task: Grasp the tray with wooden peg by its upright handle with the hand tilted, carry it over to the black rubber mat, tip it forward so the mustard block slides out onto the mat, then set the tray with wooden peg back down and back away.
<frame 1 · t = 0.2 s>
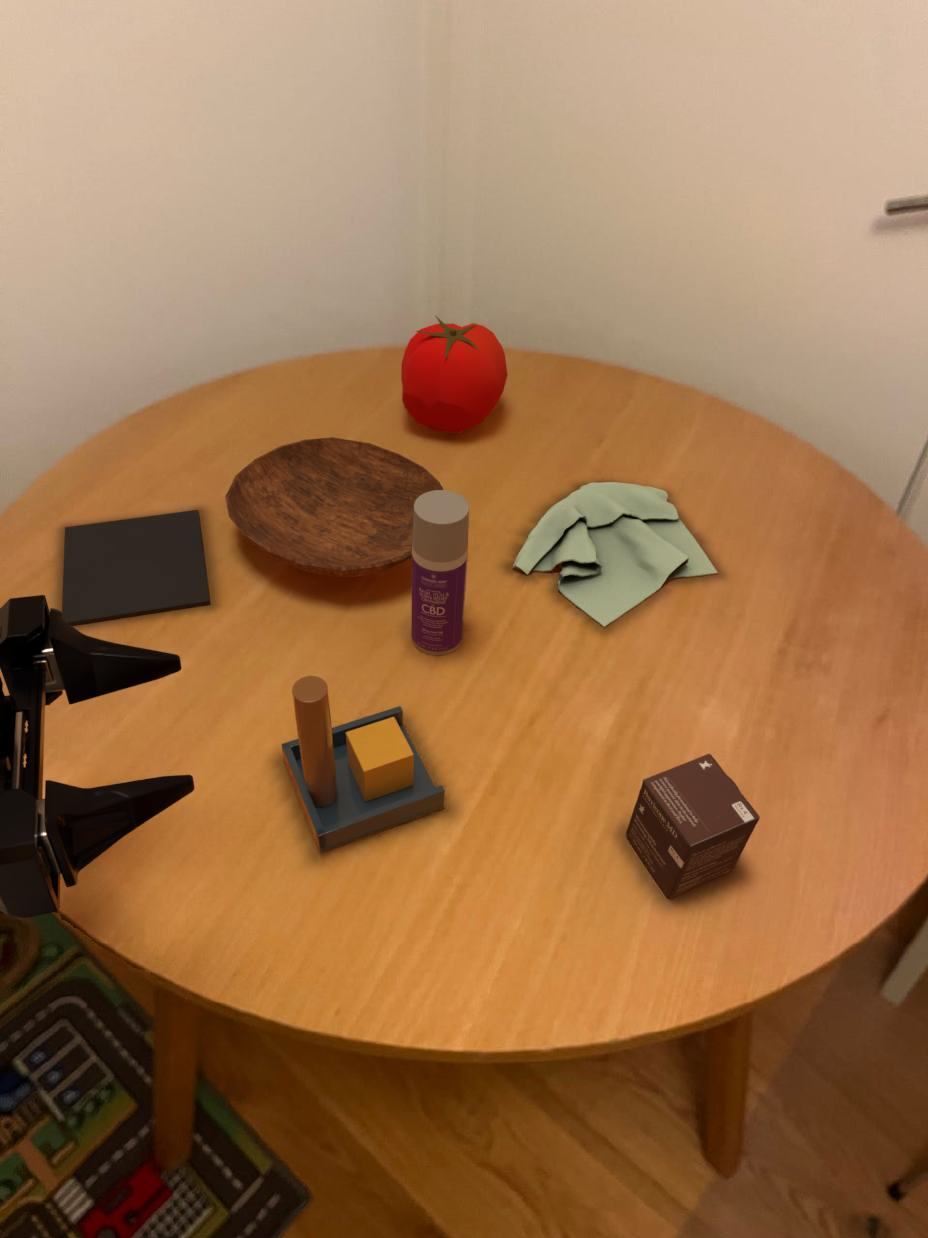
hand: (186, 719, 53), 18 cm above the table, tool horizontal, fingers open, 9 cm apart
bowl: (340, 538, 93), on the table
cloth: (606, 551, 94), on the table
block: (380, 774, 72), point 1 cm above the table, touching tray with wooden peg
box: (678, 853, 69), on the table
mat: (135, 566, 89), on the table
tray with wooden peg: (362, 785, 72), on the table, touching block
container: (436, 638, 84), on the table
tomato: (452, 419, 110), on the table
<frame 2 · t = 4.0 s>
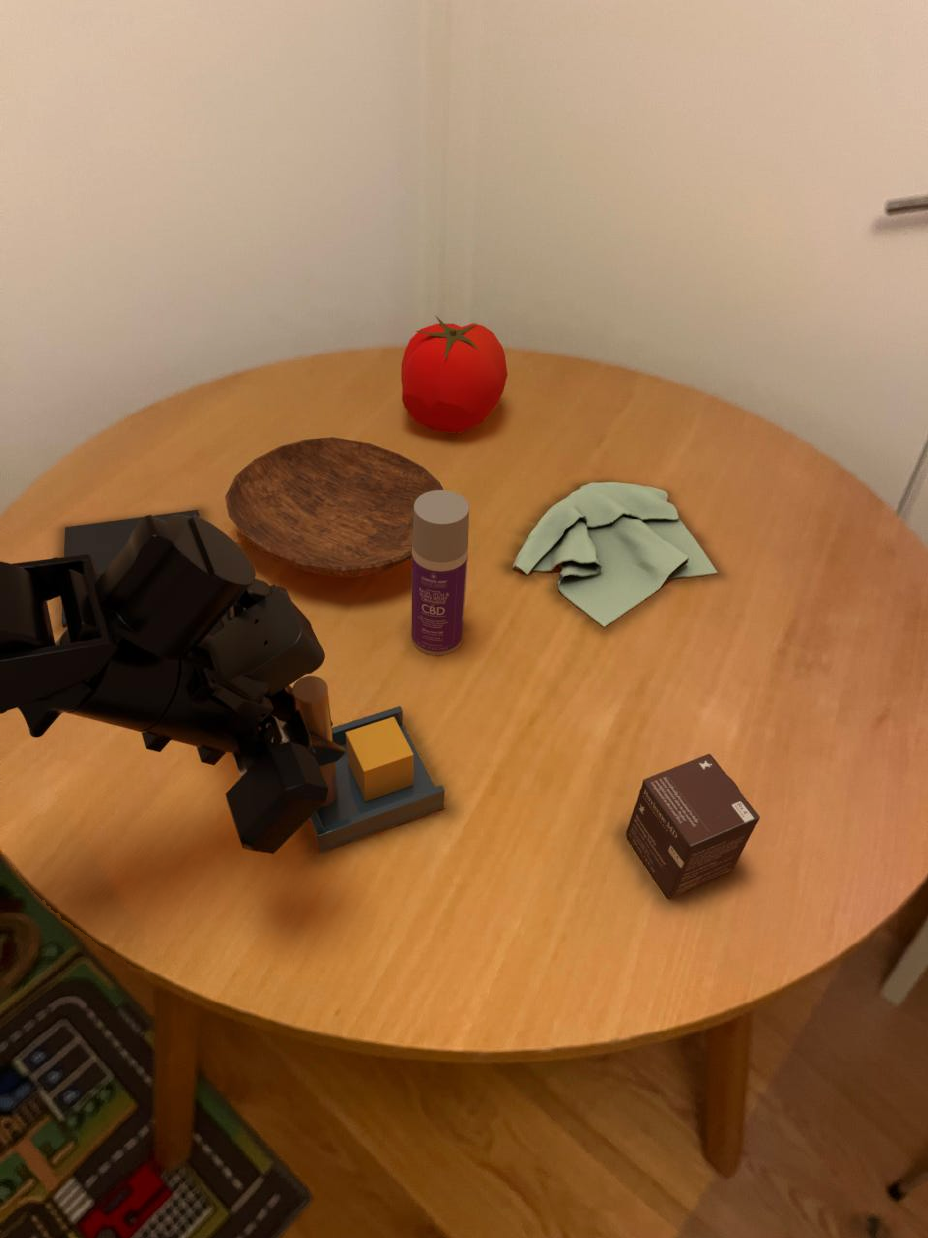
hand: (335, 741, 67), 7 cm above the table, tool tilted 45°, fingers closed on tray with wooden peg, 2 cm apart
tray with wooden peg: (362, 785, 72), on the table, touching block, gripper
everything else where it was.
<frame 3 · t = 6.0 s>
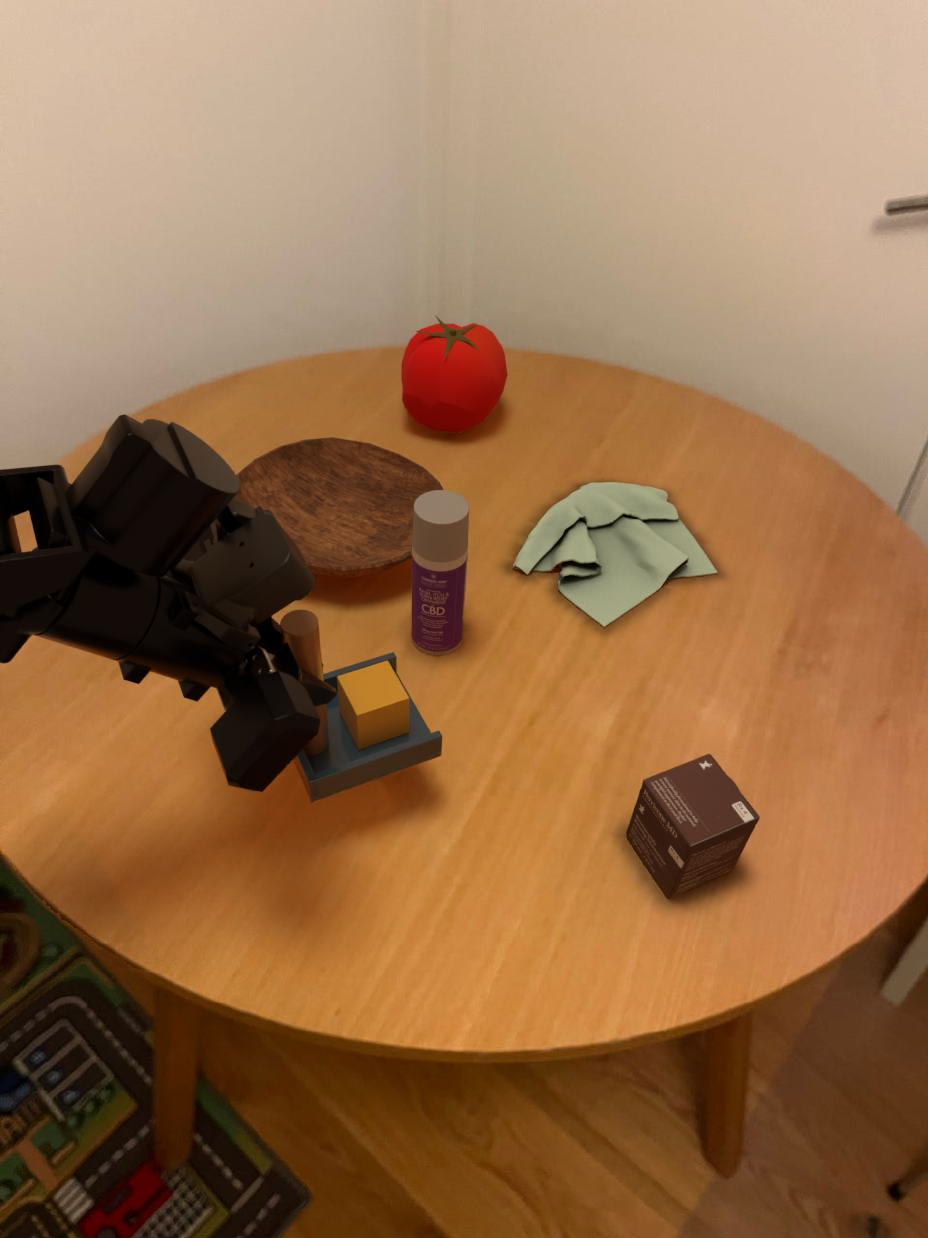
hand: (326, 682, 63), 12 cm above the table, tool tilted 45°, fingers closed on tray with wooden peg, 2 cm apart
block: (373, 722, 68), point 6 cm above the table, touching tray with wooden peg
tray with wooden peg: (355, 733, 68), point 6 cm above the table, touching block, gripper
everything else where it was.
when the fingers open (7 cm above the table, at t = 19.9 s): tray with wooden peg stays where it is, on the table.
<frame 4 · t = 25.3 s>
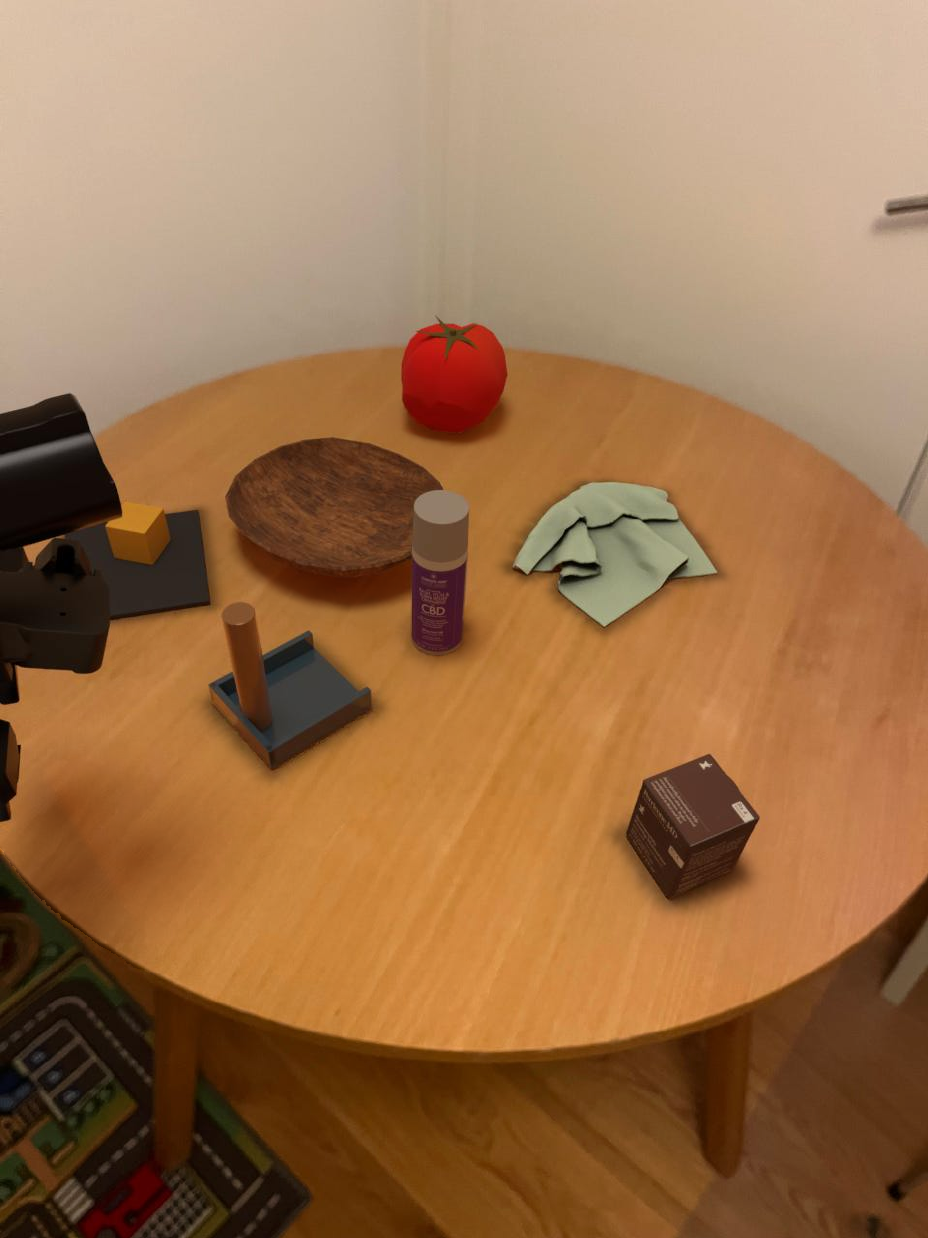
hand: (6, 757, 57), 13 cm above the table, tool pointing down, fingers open, 9 cm apart
block: (129, 546, 87), point 2 cm above the table, tilted 90°, touching mat
tray with wooden peg: (292, 705, 77), on the table
everything else where it was.
at the end: block inside the target area on the mat (0.1 cm from its centre), point 2.5 cm above the mat's base; block touching mat; tray with wooden peg tilted 0° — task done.
